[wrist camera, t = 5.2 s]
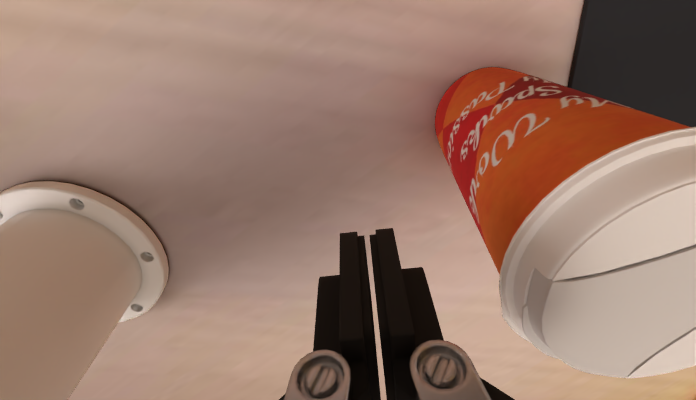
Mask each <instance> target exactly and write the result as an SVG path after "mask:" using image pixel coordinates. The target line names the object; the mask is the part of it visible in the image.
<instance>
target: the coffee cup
mask: <svg viewBox="0 0 696 400" xmlns="http://www.w3.org/2000/svg"><path fill="white" fill-rule="evenodd" d="M435 130H436V135H437V138H438V141H439V144H440V146H441V149H442V151H443V154H444V156H445V158H446V160H447V162H448V165H449V167H450V169H451V171H452V173H453V176H454V178H455V180H456V182H457V184H458V186H459V189H460V191H461V193H462V195H463V197H464V199H465V202H466V204H467V206H468V208H469V210H470V212H471V214H472V217H473V219H474V221H475V223H476V225H477V227H478V229H479V231H480V234H481V236H482V238H483V240H484V242H485V244H486V246H487V249H488V251H489V253H490V255H491V257H492V259H493V261H494V264H495V266H496V268H497V270H498V272H499V274H500V280H499V290H500V297H501V307H502V317H503V318H504V320H505V321H506V322H507V324H508V325H509V326H510V328H511V329H512V330H513V331H515V332H516V333H517V334H518V335H519V336H520V337H522V338H523V339H525V340H527V341H529V342H530V343H532V344H533V345H534V346H535V347H536V348H537V349H538V350H540V351H541V352H542V353H544V354H546V355H548V356H551V357H554V358H557V359H560V360H562V361H563V362H564V363H566V364H567V365H569V366H571V367H572V368H574V369H577V370H580V371H583V372H586V373H590V374H596V375H602V376H610V377H619V378H639V377H648V376H655V375H660V374H665V373H670V372H674V371H678V370H682V369H685V368H689V367H692V366H695V365H696V127H689V126H686V125H682V124H679V123H676V122H673V121H670V120H667V119H664V118H661V117H658V116H655V115H652V114H649V113H645V112H642V111H639V110H636V109H633V108H630V107H627V106H624V105H621V104H618V103H615V102H612V101H609V100H606V99H602V98H599V97H596V96H593V95H590V94H587V93H584V92H581V91H578V90H575V89H572V88H568V87H565V86H562V85H559V84H556V83H553V82H550V81H547V80H543V79H540V78H537V77H534V76H530V75H527V74H524V73H521V72H517V71H513V70H510V69H505V68H498V67H488V68H482V69H478V70H475V71H472V72H470V73H468V74H466V75H464V76H462V77H461V78H460V79H458V80H457V81H456V82H454V83H453V84H452V85H451V86H450V88H449V89H448V90H447V91H446V92H445V94H444V95H443V97H442V99H441V101H440V103H439V105H438V108H437V111H436V116H435Z"/></svg>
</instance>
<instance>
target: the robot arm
mask: <svg viewBox="0 0 696 400" xmlns="http://www.w3.org/2000/svg"><path fill="white" fill-rule="evenodd" d="M370 244H371V254H372V264H373V274H374V283H375V293H376V302H377V312H378V321H379V330H380V339H381V349H382V358H383V367H384V376H385V386H386V395H387V400H515V399H513V398H511V397H510V396H508V395H507V394H505V393H504V392H502V391H500V390H499V389H497V388H496V387H494V386H493V385H491V384H489V383H488V382H486V381H485V380H483V379H482V378H480V377H479V375H478V373H477V371H476V369H475V367H474V365H473V363H472V361H471V359H470V358H469V357H468V355H467V354H466V353H465V351H463V350H462V349H461V348H460V347H458V346H457V345H455V344H453V343H451V342H448V341H444V340H443V336H442V333H441V329H440V326H439V322H438V319H437V315H436V312H435V308H434V305H433V301H432V298H431V294H430V291H429V287H428V284H427V280H426V277H425V273H424V270H423V268H422V267H419V268H408V269H401V265H400V260H399V255H398V251H397V246H396V241H395V236H394V231H393V228H389V229H379V230H376V234H375V235H370ZM168 274H169V267H168V261H167V256H166V254H165V251H164V249H163V247H162V244H161V243H160V241H159V240H158V238H157V237H156V235H155V234H154V232H153V231H152V230H151V229H150V228H149V227H148V226H147V225H146V224H145V222H144V221H143V220H142V219H141V218H139V217H138V216H137V215H136V214H134V213H133V212H132V211H131V210H129V209H128V208H127V207H125V206H123V205H122V204H120V203H118V202H117V201H115V200H113V199H112V198H110V197H108V196H105V195H103V194H101V193H98V192H96V191H94V190H91V189H88V188H84V187H81V186H77V185H74V184H69V183H61V182H54V181H39V182H29V183H24V184H19V185H15V186H13V187H11V188H9V189H7V190H5V191H3V192H1V193H0V400H68V399H69V397H70V396H71V394H72V393H73V391H74V390H75V388H76V386H77V385H78V383H79V382H80V380H81V379H82V377H83V376H84V374H85V373H86V371H87V370H88V368H89V367H90V365H91V363H92V362H93V360H94V359H95V357H96V356H97V354H98V353H99V351H100V350H101V348H102V347H103V345H104V343H105V342H106V340H107V339H108V337H109V336H110V334H111V333H112V331H113V330H114V328H115V327H116V325H117V324H118V322H123V321H128V320H130V319H133V318H136V317H139V316H140V315H142V314H144V313H145V312H147V311H149V310H150V309H151V308H152V307H153V306H154V305H155V304H156V303H157V301H158V299H159V298H160V296H161V294H162V293H163V291H164V289H165V286H166V284H167V282H168ZM279 400H381V398H380V387H379V376H378V365H377V355H376V344H375V333H374V322H373V312H372V301H371V292H370V283H369V274H368V266H367V257H366V248H365V239H364V236H358V235H357V232H349V233H340V275H335V276H325V277H320V278H319V284H318V297H317V310H316V322H315V335H314V348H313V352H311V353H309V354H307V355H306V356H304V357H303V358H301V359H300V361H299V362H298V363H297V364H296V365H295V367H294V369H293V371H292V374H291V377H290V380H289V384H288V387H287V391H286V394H285V395H284V396H283V397H281V398H280V399H279Z"/></svg>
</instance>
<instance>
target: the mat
mask: <svg viewBox="0 0 696 400" xmlns="http://www.w3.org/2000/svg"><path fill="white" fill-rule="evenodd" d="M568 88H572V89H575V90H578V91H581V92H584V93H587V94H590V95H593V96H596V97H599V98H602V99H606V100H609V101H612V102H615V103H618V104H621V105H624V106H627V107H630V108H633V109H636V110H639V111H642V112H645V113H649V114H652V115H655V116H658V117H661V118H664V119H667V120H670V121H673V122H676V123H679V124H682V125H686V126H689V127H696V0H585V2H584V7H583V12H582V17H581V22H580V27H579V33H578V38H577V43H576V48H575V53H574V58H573V63H572V68H571V73H570V79H569V84H568Z"/></svg>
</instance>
